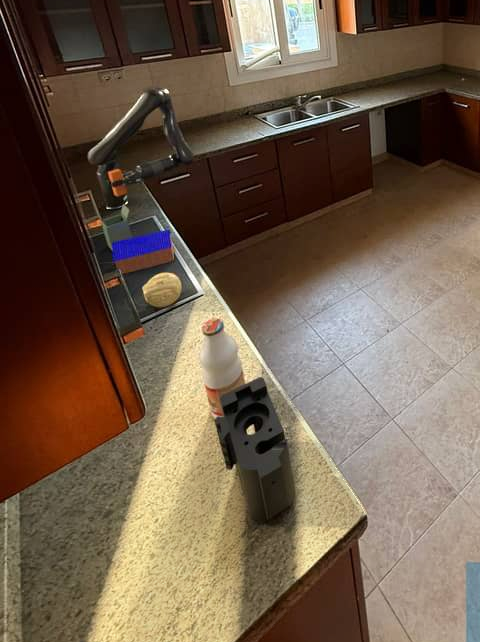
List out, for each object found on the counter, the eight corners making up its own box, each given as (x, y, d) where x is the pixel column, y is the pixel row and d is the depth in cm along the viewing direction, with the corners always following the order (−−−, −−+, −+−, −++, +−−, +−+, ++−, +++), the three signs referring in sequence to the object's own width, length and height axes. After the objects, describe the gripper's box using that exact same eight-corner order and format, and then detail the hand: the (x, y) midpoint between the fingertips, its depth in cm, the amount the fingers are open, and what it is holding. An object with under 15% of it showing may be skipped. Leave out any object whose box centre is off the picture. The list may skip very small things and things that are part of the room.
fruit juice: (241, 422, 111) (224, 340, 100) (205, 422, 111) (184, 340, 100) (253, 390, 119) (238, 311, 109) (219, 390, 120) (201, 311, 109)
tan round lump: (146, 316, 146) (139, 291, 142) (149, 294, 156) (142, 270, 152) (183, 306, 151) (177, 281, 147) (184, 285, 161) (178, 262, 157)
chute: (108, 245, 186) (100, 220, 181) (128, 238, 191) (121, 213, 187) (113, 253, 181) (106, 227, 176) (134, 245, 186) (127, 220, 182)
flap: (123, 204, 186) (124, 204, 186) (120, 212, 186) (121, 212, 187) (129, 210, 181) (130, 210, 181) (126, 218, 181) (127, 218, 182)
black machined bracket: (272, 435, 108) (261, 370, 99) (303, 514, 91) (293, 445, 83) (223, 462, 101) (207, 396, 93) (247, 552, 85) (230, 481, 77)
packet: (123, 191, 190) (117, 168, 186) (127, 192, 189) (121, 170, 185) (114, 194, 187) (107, 172, 183) (117, 196, 186) (111, 173, 182)
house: (175, 260, 175) (169, 236, 171) (118, 275, 167) (110, 250, 162) (174, 246, 185) (168, 222, 181) (120, 259, 177) (113, 235, 172)
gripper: (140, 159, 199) (99, 172, 186) (156, 165, 192) (115, 180, 179) (144, 174, 202) (104, 188, 189) (160, 180, 195) (120, 196, 181)
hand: (110, 184), depth 184 cm, fingers closed on packet, 3 cm apart
